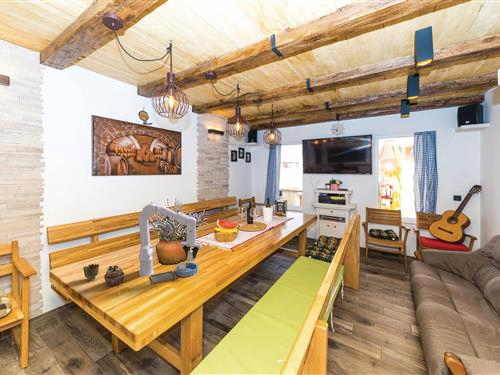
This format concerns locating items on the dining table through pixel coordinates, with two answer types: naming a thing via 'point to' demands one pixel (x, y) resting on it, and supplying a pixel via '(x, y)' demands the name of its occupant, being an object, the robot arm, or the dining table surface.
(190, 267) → the bowl
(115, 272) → the cupcake
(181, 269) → the white rounded capsule
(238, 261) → the dining table surface
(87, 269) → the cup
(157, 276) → the tray
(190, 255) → the cylinder
